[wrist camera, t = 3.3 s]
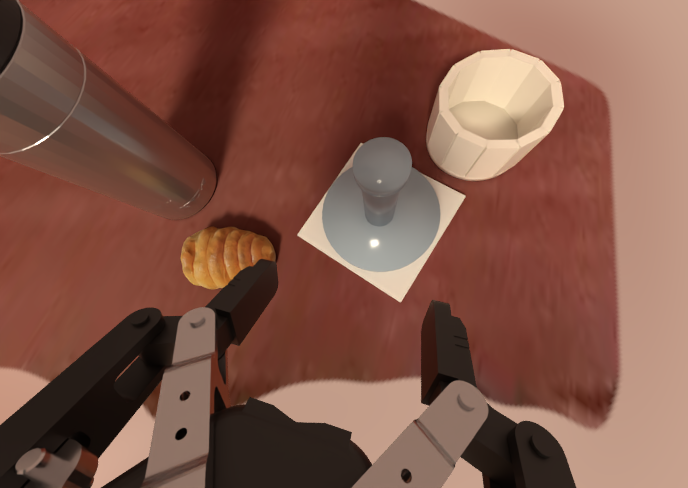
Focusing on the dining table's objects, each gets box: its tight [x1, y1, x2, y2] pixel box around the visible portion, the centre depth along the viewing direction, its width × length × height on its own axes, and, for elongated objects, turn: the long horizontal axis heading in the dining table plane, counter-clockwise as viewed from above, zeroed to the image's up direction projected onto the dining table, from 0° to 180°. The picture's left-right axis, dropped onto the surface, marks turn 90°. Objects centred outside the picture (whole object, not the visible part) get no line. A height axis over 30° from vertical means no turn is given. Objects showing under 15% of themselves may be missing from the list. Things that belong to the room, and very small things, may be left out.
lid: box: [322, 137, 440, 272], centre depth 21 cm, size 12×12×11 cm
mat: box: [298, 143, 466, 302], centre depth 27 cm, size 13×13×1 cm
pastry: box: [181, 226, 276, 289], centre depth 26 cm, size 9×7×4 cm
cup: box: [426, 49, 564, 181], centre depth 24 cm, size 10×10×6 cm
